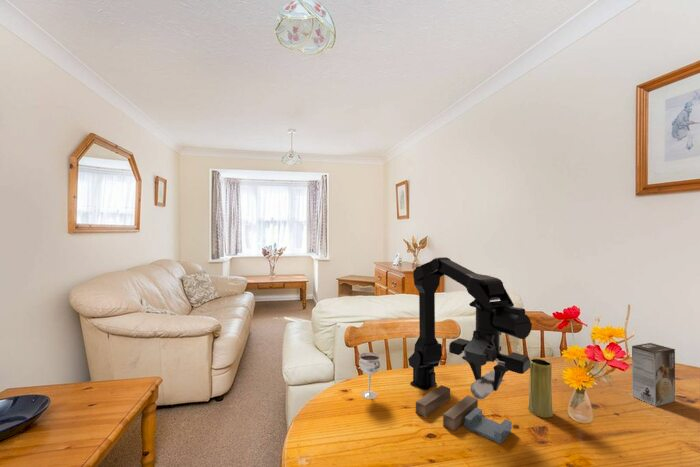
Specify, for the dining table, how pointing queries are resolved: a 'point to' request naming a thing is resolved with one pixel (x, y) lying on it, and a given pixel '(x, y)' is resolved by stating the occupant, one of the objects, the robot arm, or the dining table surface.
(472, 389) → the axle
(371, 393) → the wineglass
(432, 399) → the pair of brown blocks
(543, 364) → the vase
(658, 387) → the coffee box
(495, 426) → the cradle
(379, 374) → the dining table surface
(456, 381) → the dining table surface
